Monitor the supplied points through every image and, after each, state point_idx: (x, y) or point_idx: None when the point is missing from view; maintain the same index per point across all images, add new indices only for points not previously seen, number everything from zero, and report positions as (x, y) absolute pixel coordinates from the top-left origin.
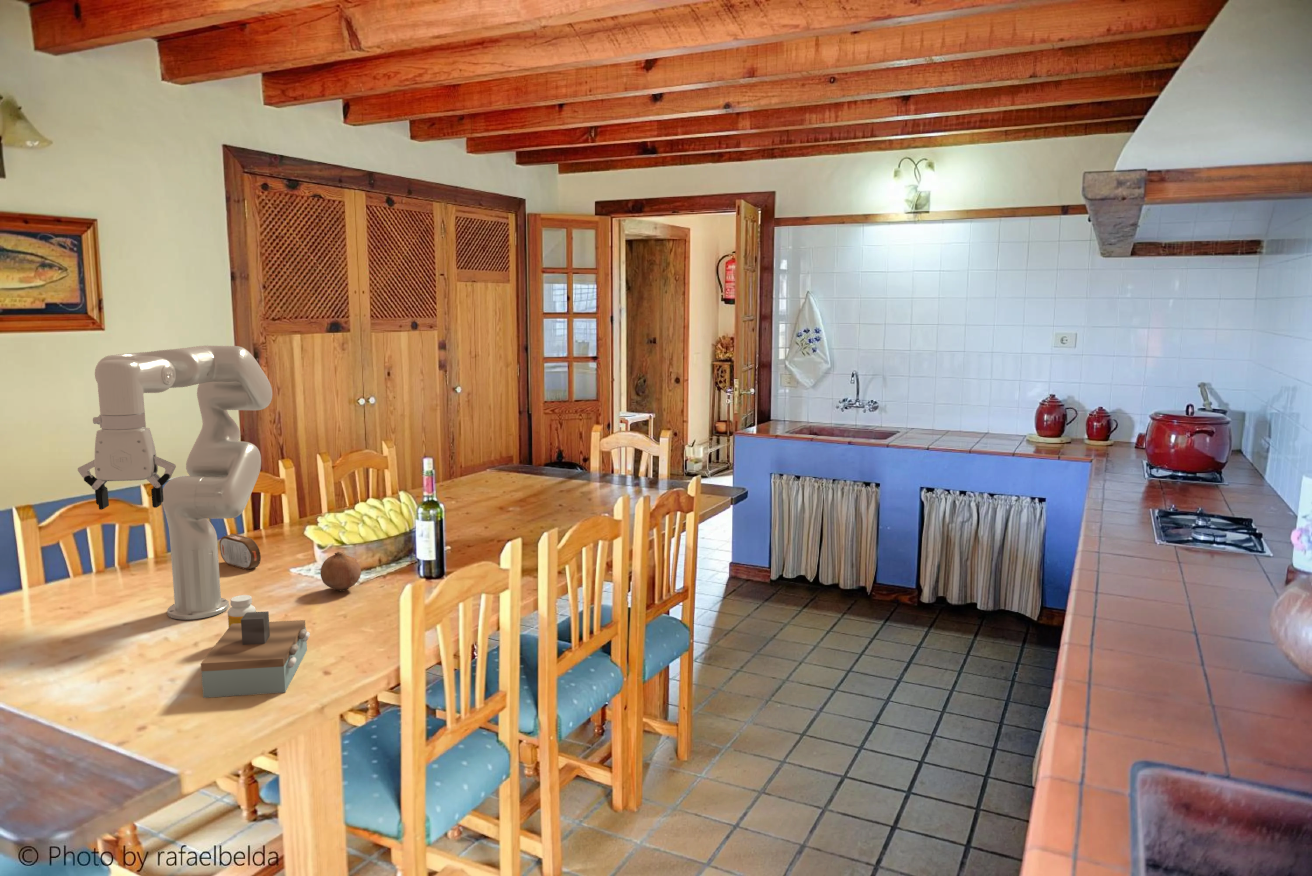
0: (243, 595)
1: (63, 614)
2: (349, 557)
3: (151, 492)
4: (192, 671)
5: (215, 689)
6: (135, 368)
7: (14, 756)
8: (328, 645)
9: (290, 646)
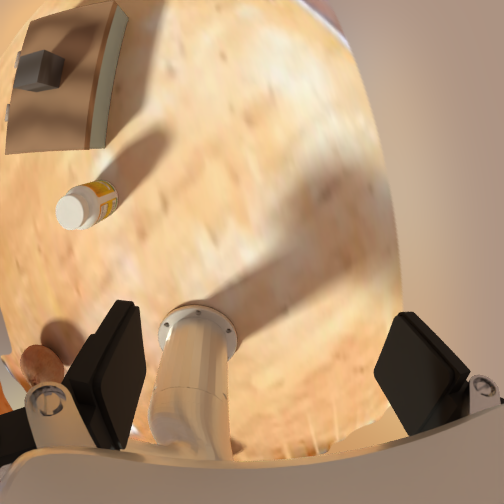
0: (68, 226)
1: (359, 352)
2: (25, 377)
3: (106, 364)
4: (149, 95)
5: None
6: None
7: None
8: (14, 165)
9: (19, 58)
